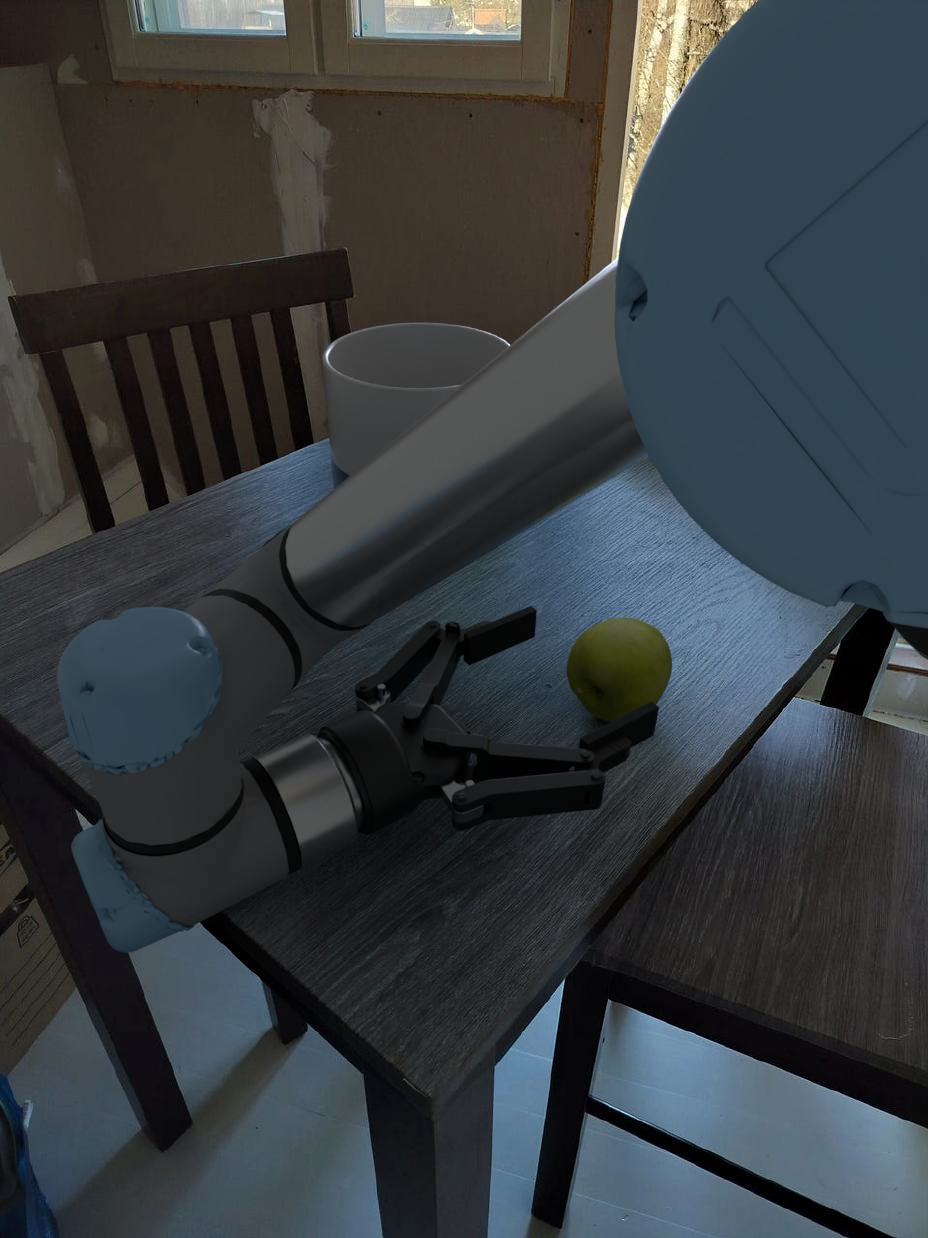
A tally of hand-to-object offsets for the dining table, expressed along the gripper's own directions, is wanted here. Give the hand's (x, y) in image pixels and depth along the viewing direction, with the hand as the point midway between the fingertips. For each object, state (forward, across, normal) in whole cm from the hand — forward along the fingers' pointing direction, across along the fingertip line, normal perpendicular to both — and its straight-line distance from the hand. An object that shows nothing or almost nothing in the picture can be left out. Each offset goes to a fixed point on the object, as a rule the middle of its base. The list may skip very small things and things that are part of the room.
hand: (589, 666), depth 64 cm
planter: (+8, -36, -6) cm, 37 cm away
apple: (+3, 0, -6) cm, 7 cm away
